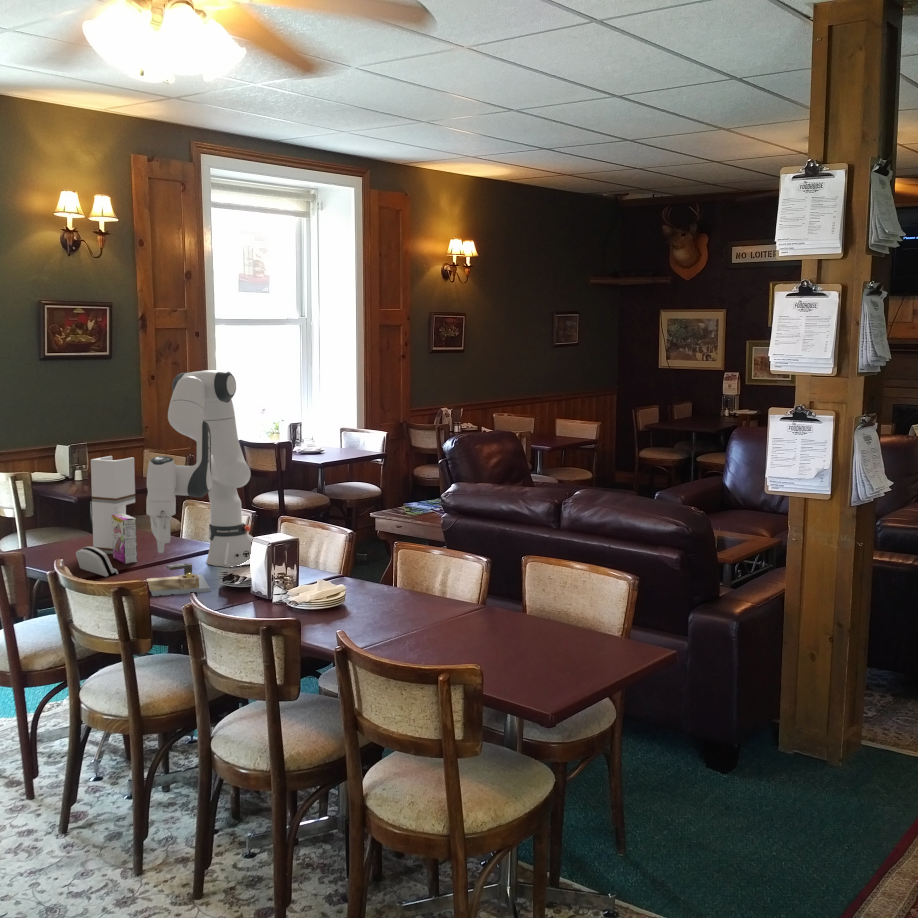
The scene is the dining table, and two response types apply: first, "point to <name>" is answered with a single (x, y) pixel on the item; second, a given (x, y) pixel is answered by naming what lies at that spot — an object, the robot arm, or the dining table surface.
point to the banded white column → (110, 496)
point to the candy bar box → (124, 538)
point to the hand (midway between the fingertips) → (160, 552)
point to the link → (173, 582)
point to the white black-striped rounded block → (95, 561)
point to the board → (202, 588)
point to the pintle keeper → (185, 566)
